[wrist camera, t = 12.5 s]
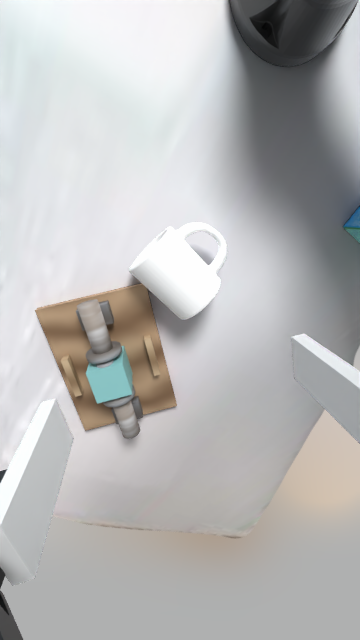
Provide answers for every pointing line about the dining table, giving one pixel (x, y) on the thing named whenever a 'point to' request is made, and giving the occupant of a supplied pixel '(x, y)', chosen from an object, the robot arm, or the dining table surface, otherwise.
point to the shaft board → (110, 354)
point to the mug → (180, 270)
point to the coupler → (111, 378)
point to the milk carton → (354, 225)
